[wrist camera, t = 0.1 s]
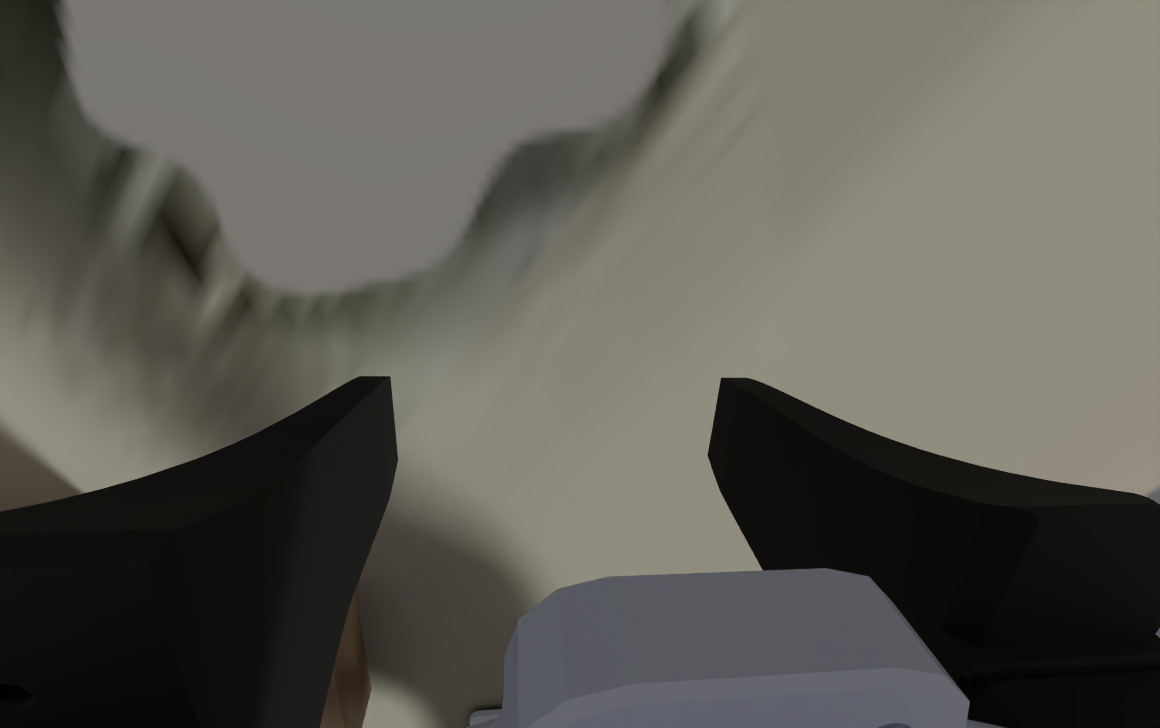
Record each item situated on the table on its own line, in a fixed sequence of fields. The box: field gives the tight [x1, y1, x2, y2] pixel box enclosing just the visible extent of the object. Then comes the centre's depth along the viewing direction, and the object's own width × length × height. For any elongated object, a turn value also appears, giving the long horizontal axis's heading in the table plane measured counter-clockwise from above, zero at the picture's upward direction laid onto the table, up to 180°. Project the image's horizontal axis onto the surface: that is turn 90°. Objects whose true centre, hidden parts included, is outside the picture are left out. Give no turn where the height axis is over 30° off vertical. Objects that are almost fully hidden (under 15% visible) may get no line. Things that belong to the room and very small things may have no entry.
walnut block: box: [320, 591, 371, 728], centre depth 26 cm, size 8×8×4 cm
